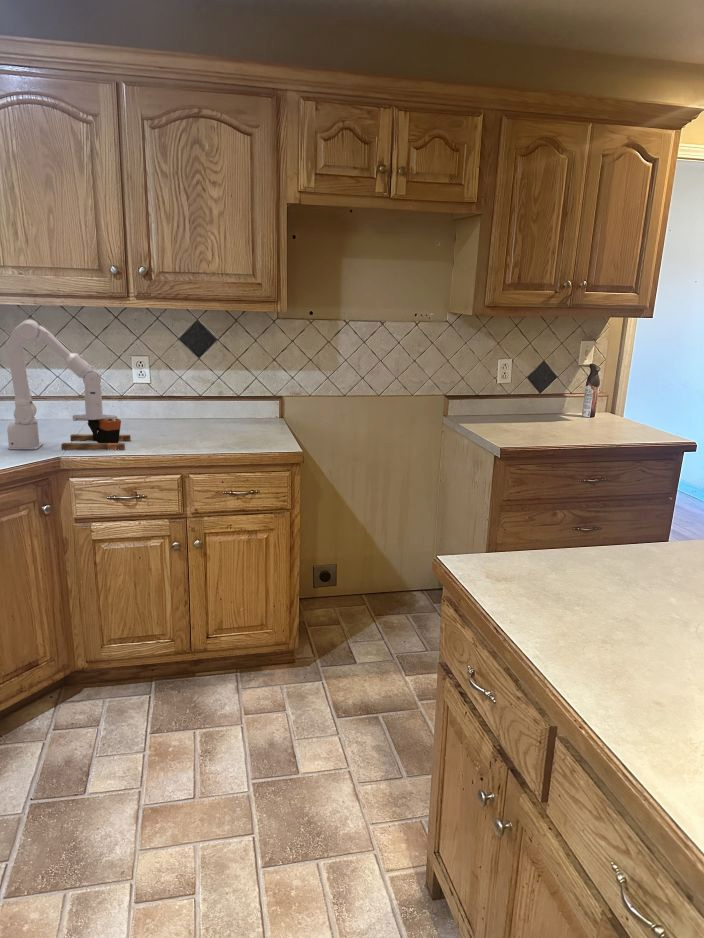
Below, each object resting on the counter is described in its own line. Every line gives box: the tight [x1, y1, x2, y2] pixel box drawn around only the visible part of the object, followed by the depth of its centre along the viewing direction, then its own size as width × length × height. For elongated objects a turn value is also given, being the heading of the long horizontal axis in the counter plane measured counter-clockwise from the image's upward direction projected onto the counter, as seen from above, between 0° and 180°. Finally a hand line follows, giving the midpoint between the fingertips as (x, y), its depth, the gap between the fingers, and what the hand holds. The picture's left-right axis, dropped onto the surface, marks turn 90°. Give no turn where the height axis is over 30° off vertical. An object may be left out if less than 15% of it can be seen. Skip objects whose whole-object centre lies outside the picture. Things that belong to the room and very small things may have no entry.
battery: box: [96, 415, 122, 443], centre depth 246 cm, size 4×7×10 cm, turn 151°
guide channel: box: [61, 433, 131, 451], centre depth 246 cm, size 21×15×2 cm
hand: (95, 440), depth 246 cm, fingers closed, pressing on battery
